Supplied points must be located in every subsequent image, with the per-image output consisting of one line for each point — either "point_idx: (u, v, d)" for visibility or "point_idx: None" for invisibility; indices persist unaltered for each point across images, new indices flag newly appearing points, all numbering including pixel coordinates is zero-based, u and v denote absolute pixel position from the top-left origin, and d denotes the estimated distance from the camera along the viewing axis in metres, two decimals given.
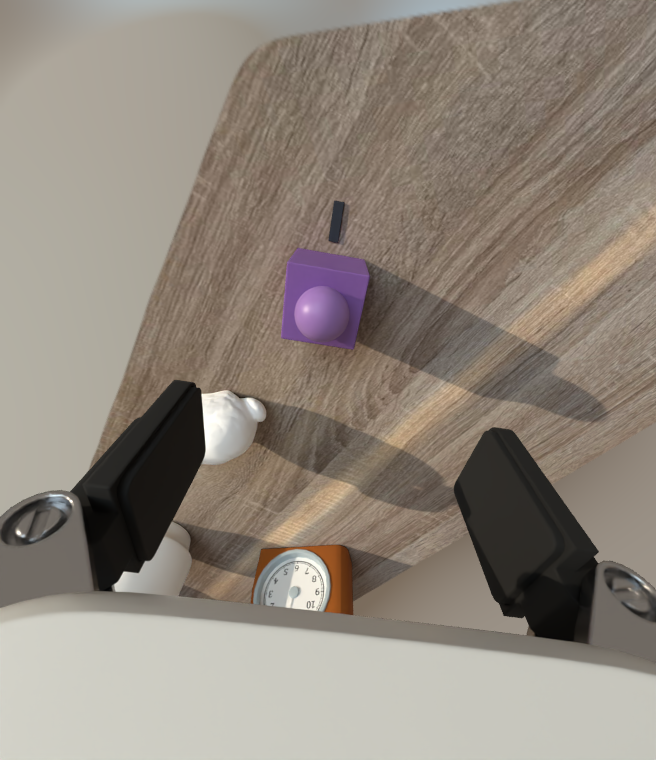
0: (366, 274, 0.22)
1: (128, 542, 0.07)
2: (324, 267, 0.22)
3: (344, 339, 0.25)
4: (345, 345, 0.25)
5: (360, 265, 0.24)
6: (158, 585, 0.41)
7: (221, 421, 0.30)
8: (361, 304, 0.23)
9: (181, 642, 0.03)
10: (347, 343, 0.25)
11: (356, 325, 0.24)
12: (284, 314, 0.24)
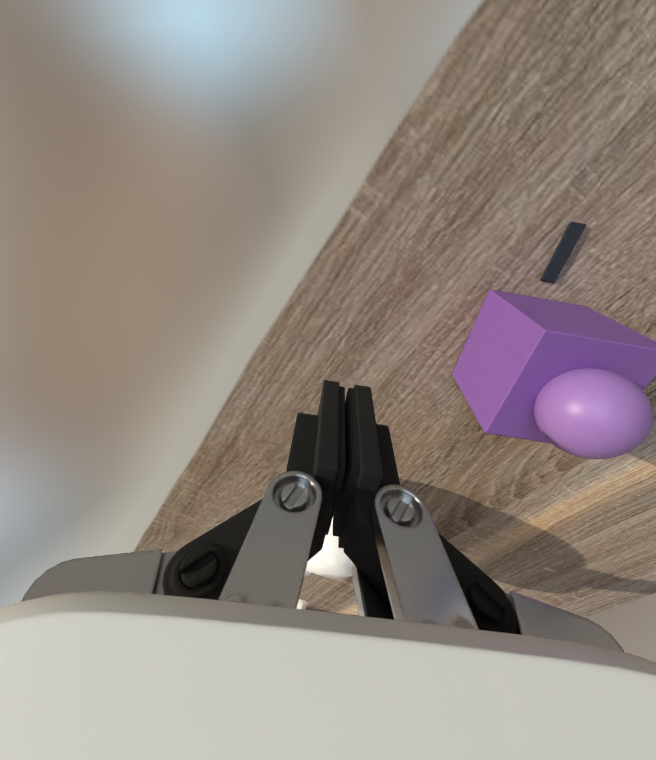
0: None
1: None
2: (600, 337, 0.13)
3: None
4: None
5: (613, 323, 0.16)
6: None
7: None
8: None
9: (181, 642, 0.03)
10: None
11: None
12: (504, 403, 0.15)
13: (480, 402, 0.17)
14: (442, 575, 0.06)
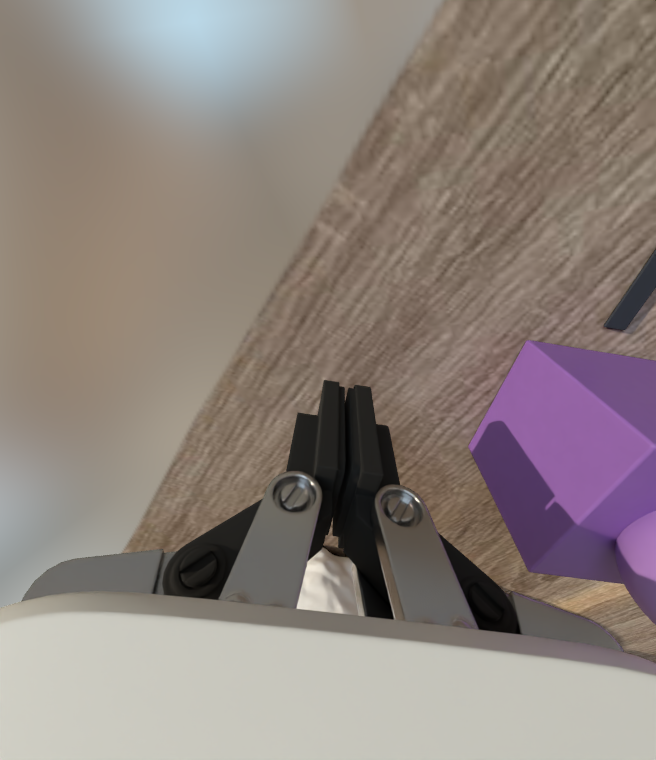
0: None
1: None
2: None
3: None
4: None
5: None
6: None
7: None
8: None
9: (181, 643, 0.03)
10: None
11: None
12: (566, 539, 0.09)
13: (518, 515, 0.11)
14: (442, 575, 0.06)
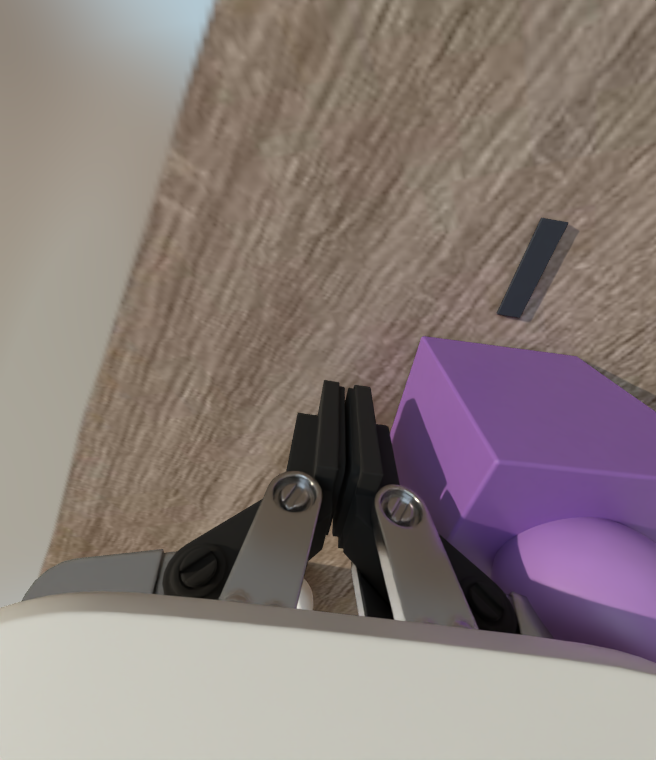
0: None
1: None
2: (613, 466, 0.06)
3: None
4: None
5: (626, 400, 0.09)
6: None
7: None
8: None
9: (181, 643, 0.03)
10: None
11: None
12: None
13: None
14: (442, 575, 0.06)
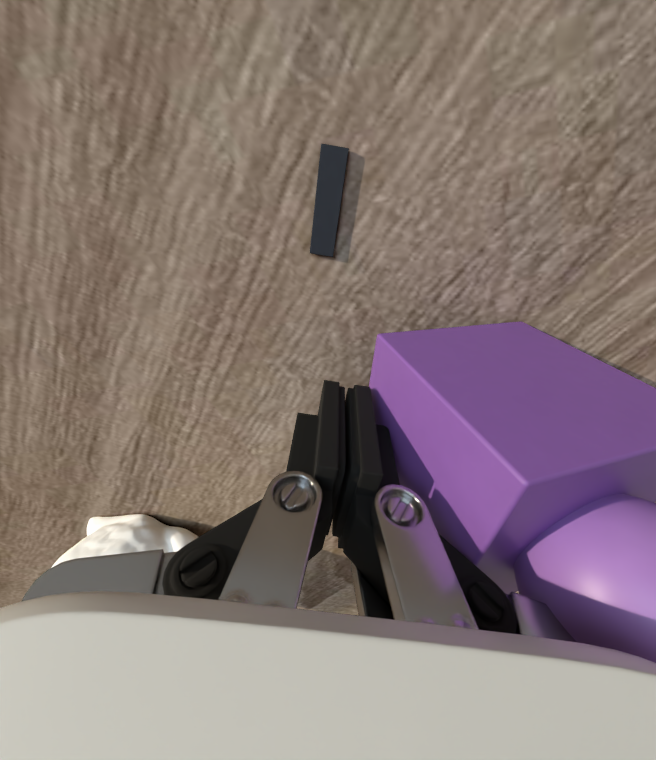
0: None
1: None
2: (621, 446, 0.06)
3: None
4: None
5: (585, 360, 0.09)
6: None
7: None
8: None
9: (182, 642, 0.03)
10: None
11: None
12: None
13: None
14: (442, 575, 0.06)
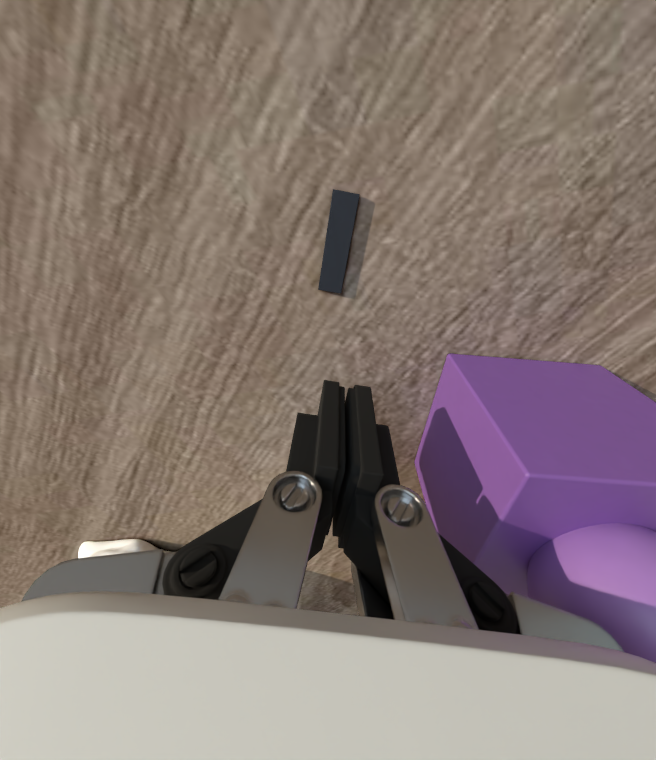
0: None
1: None
2: (638, 475, 0.07)
3: None
4: None
5: (652, 409, 0.09)
6: None
7: None
8: None
9: (181, 642, 0.03)
10: None
11: None
12: None
13: None
14: (442, 575, 0.06)
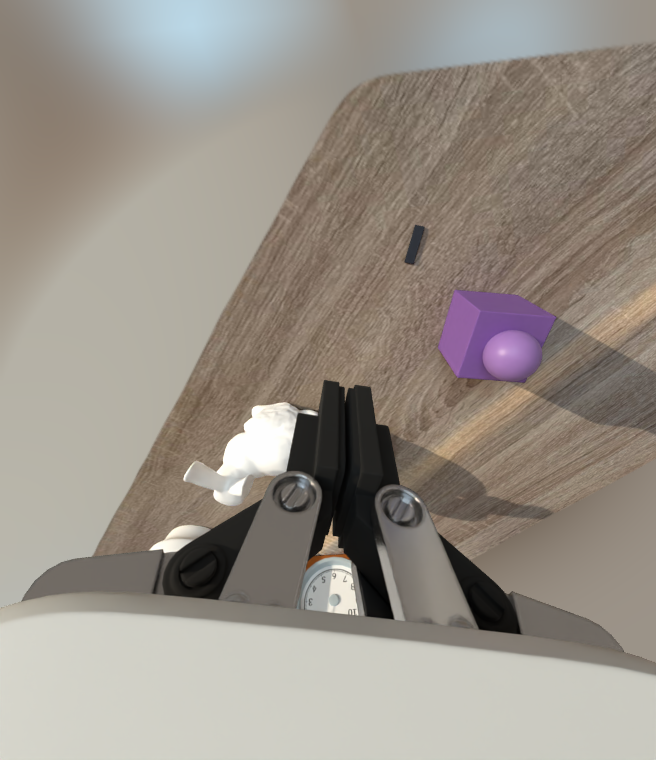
0: (551, 315, 0.24)
1: None
2: (512, 312, 0.24)
3: None
4: None
5: (528, 304, 0.26)
6: None
7: (289, 434, 0.31)
8: (542, 342, 0.25)
9: (181, 642, 0.03)
10: None
11: None
12: (465, 356, 0.25)
13: (453, 360, 0.27)
14: (442, 575, 0.06)
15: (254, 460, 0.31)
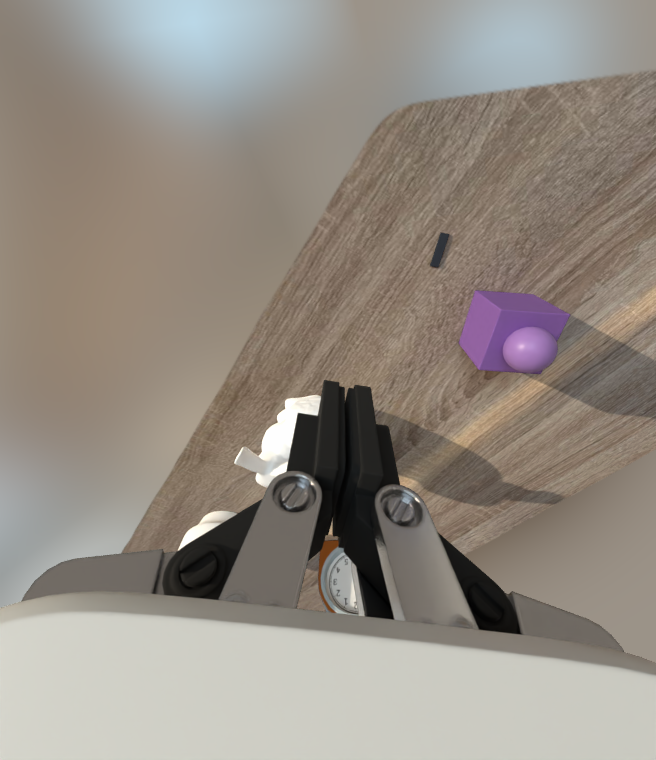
0: (565, 313, 0.26)
1: None
2: (530, 311, 0.26)
3: None
4: None
5: (544, 302, 0.29)
6: None
7: None
8: (557, 337, 0.27)
9: (181, 642, 0.03)
10: None
11: None
12: (487, 350, 0.28)
13: (475, 354, 0.30)
14: (442, 575, 0.06)
15: None
